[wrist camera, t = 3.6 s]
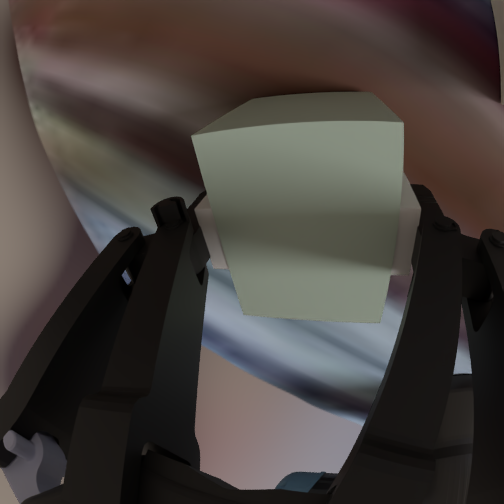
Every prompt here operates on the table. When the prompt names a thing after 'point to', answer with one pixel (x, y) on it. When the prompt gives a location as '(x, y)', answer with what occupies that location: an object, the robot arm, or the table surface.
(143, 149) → the table surface
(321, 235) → the sage brick
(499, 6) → the cream brick
